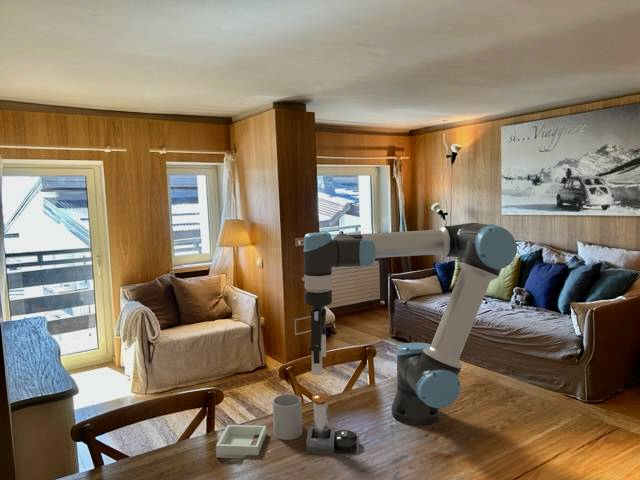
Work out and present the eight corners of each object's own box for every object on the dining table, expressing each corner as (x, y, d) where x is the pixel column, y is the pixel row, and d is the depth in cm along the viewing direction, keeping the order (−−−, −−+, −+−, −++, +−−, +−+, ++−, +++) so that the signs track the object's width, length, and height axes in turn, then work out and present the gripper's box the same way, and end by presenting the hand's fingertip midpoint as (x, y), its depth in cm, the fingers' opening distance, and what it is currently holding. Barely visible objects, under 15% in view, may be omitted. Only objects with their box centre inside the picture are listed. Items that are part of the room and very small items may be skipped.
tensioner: (358, 438, 140) (358, 424, 139) (358, 458, 130) (358, 442, 129) (310, 437, 141) (309, 423, 140) (306, 456, 131) (305, 441, 131)
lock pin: (330, 439, 138) (329, 392, 136) (329, 448, 133) (328, 399, 132) (314, 439, 138) (313, 392, 136) (312, 447, 133) (311, 399, 132)
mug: (301, 442, 138) (300, 406, 137) (272, 443, 138) (270, 406, 137) (303, 422, 150) (302, 388, 149) (276, 423, 150) (275, 389, 149)
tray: (266, 436, 142) (266, 425, 141) (258, 458, 130) (257, 446, 130) (228, 435, 143) (227, 424, 142) (216, 457, 131) (215, 445, 131)
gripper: (309, 280, 144) (310, 349, 146) (298, 299, 119) (300, 382, 121) (334, 280, 143) (335, 349, 145) (328, 300, 118) (329, 383, 120)
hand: (319, 364), depth 133 cm, fingers open, 13 cm apart
